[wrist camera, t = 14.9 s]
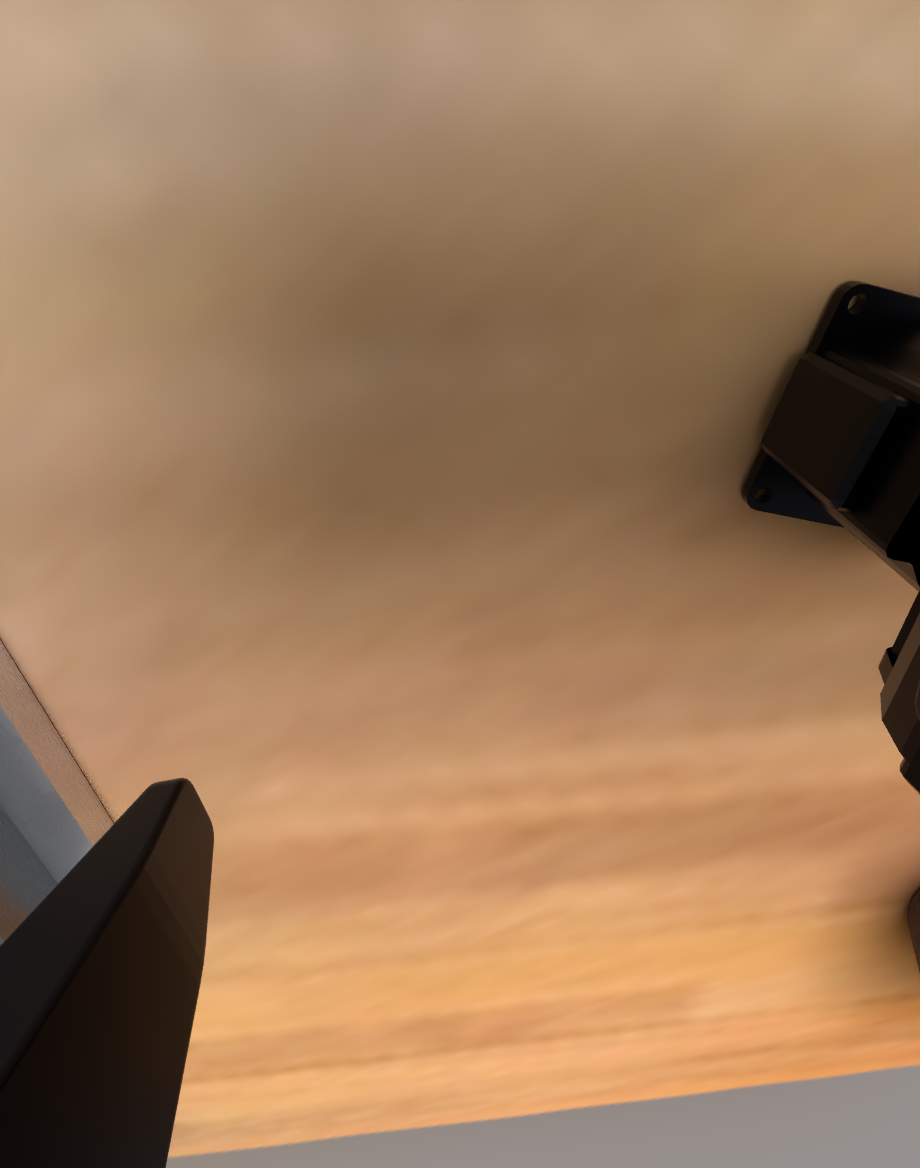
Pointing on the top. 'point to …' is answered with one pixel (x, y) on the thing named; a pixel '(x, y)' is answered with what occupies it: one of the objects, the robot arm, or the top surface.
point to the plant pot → (915, 925)
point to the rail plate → (37, 803)
